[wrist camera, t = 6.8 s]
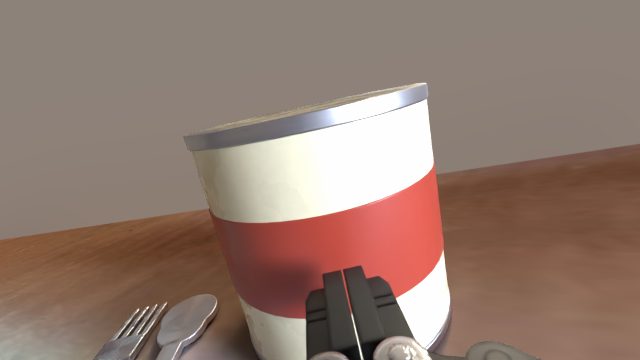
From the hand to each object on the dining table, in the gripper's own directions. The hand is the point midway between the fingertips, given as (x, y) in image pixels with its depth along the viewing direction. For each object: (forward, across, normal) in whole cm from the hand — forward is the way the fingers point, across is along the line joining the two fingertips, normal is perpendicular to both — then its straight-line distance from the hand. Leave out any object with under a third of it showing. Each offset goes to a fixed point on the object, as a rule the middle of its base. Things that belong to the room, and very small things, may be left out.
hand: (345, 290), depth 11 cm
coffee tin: (+8, 0, +6) cm, 10 cm away
